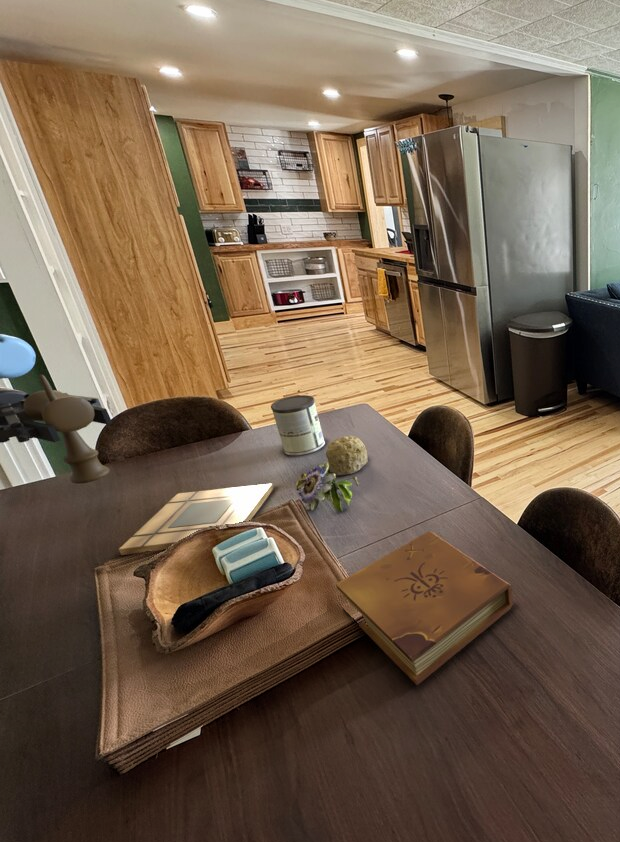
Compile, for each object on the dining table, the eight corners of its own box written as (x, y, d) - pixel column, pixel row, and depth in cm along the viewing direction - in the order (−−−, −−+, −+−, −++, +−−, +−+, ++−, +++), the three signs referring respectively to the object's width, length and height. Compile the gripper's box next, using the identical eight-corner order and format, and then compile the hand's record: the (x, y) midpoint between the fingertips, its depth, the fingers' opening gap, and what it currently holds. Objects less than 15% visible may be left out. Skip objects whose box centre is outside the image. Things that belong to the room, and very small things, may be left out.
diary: (513, 607, 82) (511, 581, 80) (417, 686, 69) (411, 658, 66) (436, 551, 95) (432, 528, 93) (342, 608, 82) (335, 582, 79)
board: (121, 555, 94) (118, 548, 93) (179, 498, 112) (177, 492, 111) (235, 541, 98) (232, 534, 97) (274, 488, 116) (272, 483, 115)
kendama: (82, 493, 81) (26, 385, 73) (57, 480, 85) (2, 375, 77) (126, 476, 86) (78, 373, 78) (101, 464, 90) (53, 365, 82)
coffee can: (281, 445, 136) (268, 400, 131) (321, 435, 142) (310, 392, 137) (286, 459, 129) (273, 412, 123) (328, 448, 135) (317, 402, 129)
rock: (327, 480, 126) (307, 461, 118) (348, 444, 133) (331, 425, 125) (359, 486, 125) (342, 468, 117) (380, 450, 131) (364, 430, 123)
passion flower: (316, 528, 110) (281, 488, 108) (356, 498, 118) (324, 460, 116) (329, 520, 103) (292, 478, 101) (371, 489, 110) (337, 449, 108)
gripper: (74, 406, 96) (154, 421, 89) (-73, 450, 79) (12, 473, 72) (58, 371, 93) (139, 384, 86) (-99, 409, 76) (-13, 429, 69)
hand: (81, 424), depth 79 cm, fingers closed on kendama, 6 cm apart
